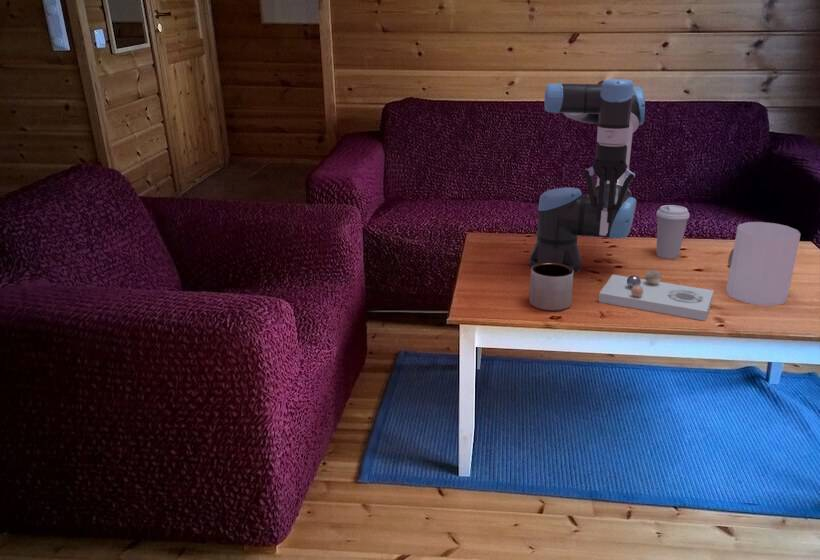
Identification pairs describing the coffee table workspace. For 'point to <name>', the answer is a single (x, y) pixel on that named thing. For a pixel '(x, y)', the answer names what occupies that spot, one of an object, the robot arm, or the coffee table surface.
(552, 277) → the planter
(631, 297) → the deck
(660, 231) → the coffee cup
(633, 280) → the steel ball
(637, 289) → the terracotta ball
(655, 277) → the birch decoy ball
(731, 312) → the coffee table surface
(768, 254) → the container
